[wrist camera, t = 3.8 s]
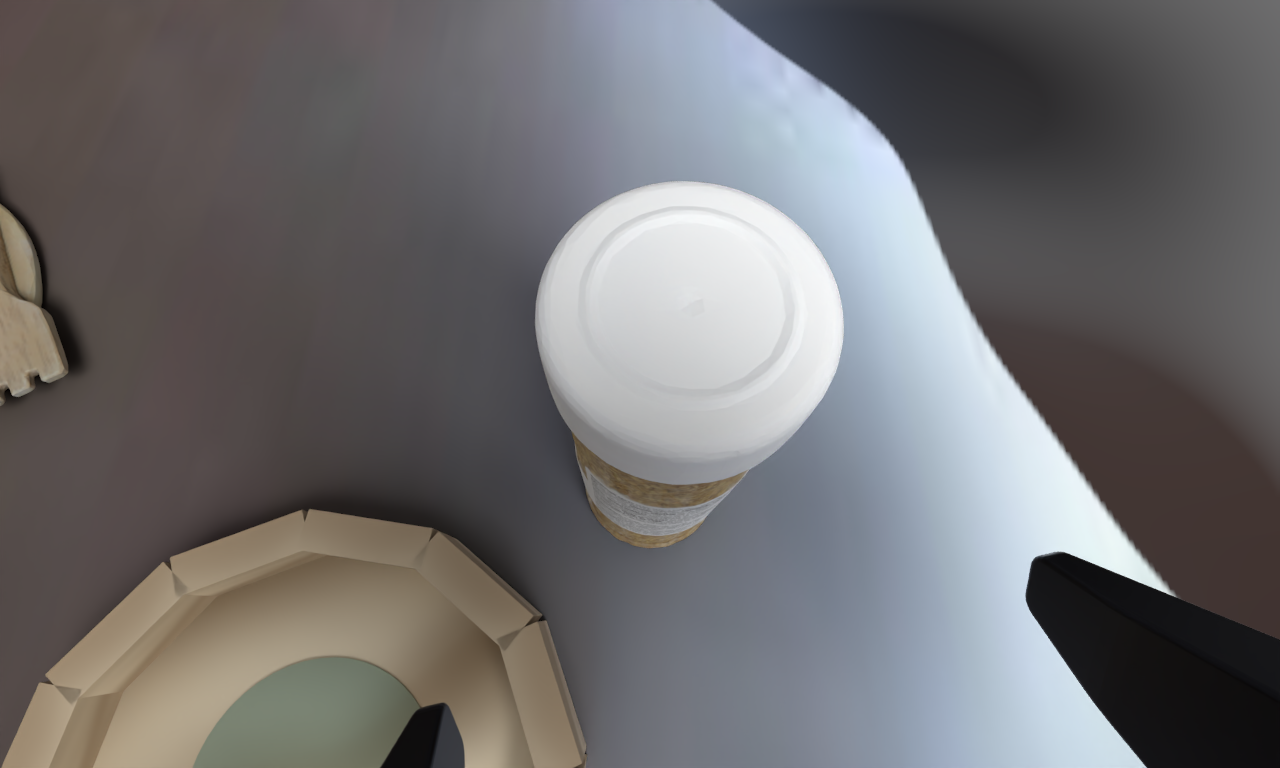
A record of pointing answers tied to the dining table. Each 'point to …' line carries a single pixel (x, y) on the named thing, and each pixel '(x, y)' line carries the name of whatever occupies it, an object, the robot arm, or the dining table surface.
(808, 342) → the sprinkles bottle
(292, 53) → the dining table surface
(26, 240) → the tableware set
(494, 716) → the tray
